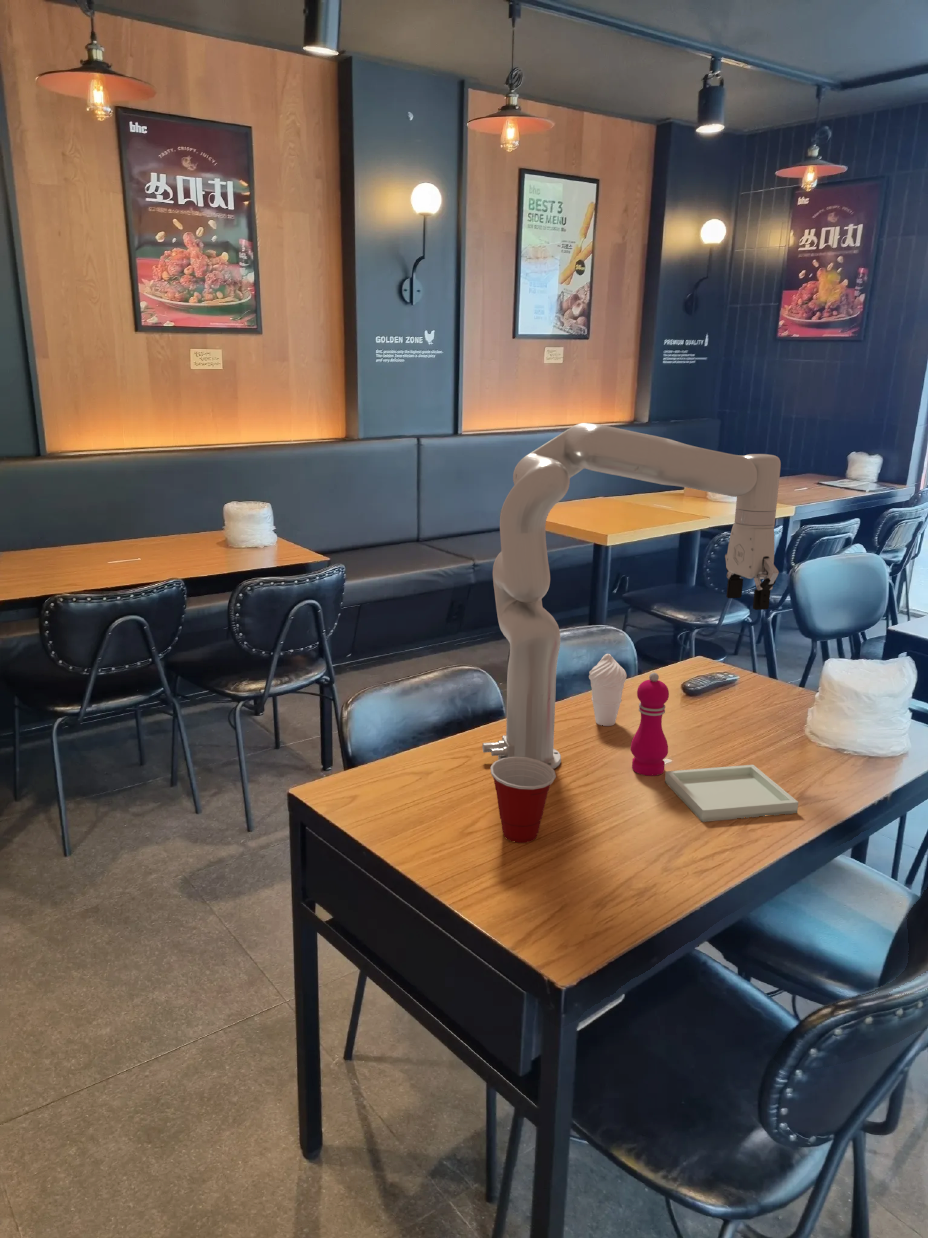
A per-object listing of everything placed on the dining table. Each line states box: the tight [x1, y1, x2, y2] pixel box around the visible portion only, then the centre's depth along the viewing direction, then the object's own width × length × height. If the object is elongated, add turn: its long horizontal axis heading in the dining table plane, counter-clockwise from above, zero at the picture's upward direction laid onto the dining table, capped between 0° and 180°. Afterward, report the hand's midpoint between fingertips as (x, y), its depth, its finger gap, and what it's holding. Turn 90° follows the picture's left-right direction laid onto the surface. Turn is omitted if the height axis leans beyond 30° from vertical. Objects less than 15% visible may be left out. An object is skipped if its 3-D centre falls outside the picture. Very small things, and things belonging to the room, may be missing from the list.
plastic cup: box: [490, 757, 557, 844], centre depth 145 cm, size 11×11×12 cm
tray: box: [664, 764, 799, 823], centre depth 160 cm, size 18×16×2 cm
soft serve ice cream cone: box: [588, 653, 627, 727], centre depth 194 cm, size 8×8×16 cm
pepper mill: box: [630, 672, 670, 777], centre depth 169 cm, size 7×7×20 cm
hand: (746, 603), depth 175 cm, fingers open, 9 cm apart
